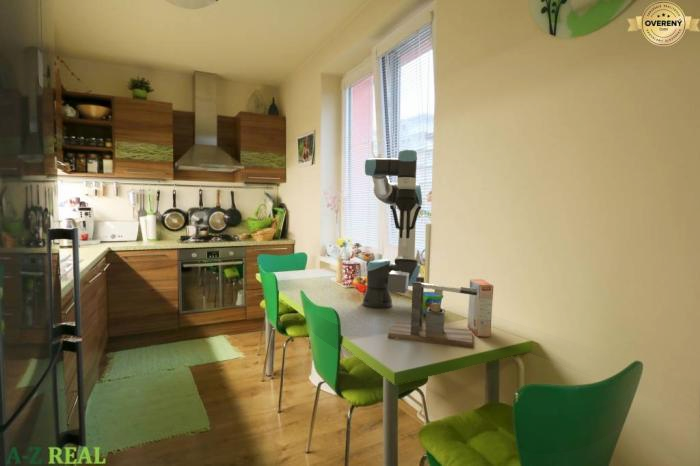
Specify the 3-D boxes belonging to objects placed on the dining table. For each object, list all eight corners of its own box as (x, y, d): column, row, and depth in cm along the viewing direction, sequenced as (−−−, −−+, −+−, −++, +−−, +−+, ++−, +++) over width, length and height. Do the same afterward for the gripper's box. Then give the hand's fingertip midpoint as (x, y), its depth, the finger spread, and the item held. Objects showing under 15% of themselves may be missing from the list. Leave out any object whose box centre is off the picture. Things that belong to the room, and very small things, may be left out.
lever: (391, 286, 161) (392, 270, 160) (475, 299, 152) (477, 281, 151) (386, 291, 152) (388, 273, 151) (476, 304, 143) (478, 286, 142)
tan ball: (430, 311, 154) (431, 301, 154) (440, 312, 153) (441, 302, 153) (429, 313, 150) (430, 303, 150) (440, 314, 149) (440, 304, 149)
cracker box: (491, 337, 153) (494, 285, 152) (476, 337, 153) (478, 284, 152) (481, 327, 167) (483, 278, 166) (467, 326, 167) (469, 278, 166)
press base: (395, 326, 165) (396, 274, 163) (471, 334, 156) (473, 280, 155) (387, 337, 149) (389, 281, 148) (472, 347, 141) (475, 287, 139)
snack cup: (431, 310, 193) (431, 289, 193) (449, 314, 186) (450, 293, 185) (411, 315, 183) (412, 293, 182) (430, 320, 175) (431, 298, 174)
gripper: (388, 187, 157) (386, 246, 158) (421, 188, 153) (419, 247, 154) (392, 188, 164) (390, 244, 165) (423, 189, 160) (421, 246, 162)
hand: (404, 246), depth 160 cm, fingers closed
